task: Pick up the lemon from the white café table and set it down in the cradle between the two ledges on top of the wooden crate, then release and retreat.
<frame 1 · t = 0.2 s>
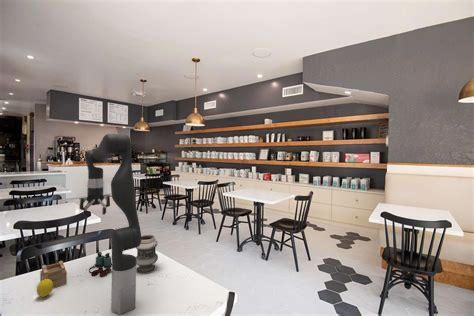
hand: (95, 215, 128), 29 cm above the table, fingers open, 8 cm apart
binoculars: (100, 274, 121), on the table
lemon: (44, 297, 102), on the table
wooden crate: (53, 283, 111), on the table
apothecary jar: (146, 269, 128), on the table
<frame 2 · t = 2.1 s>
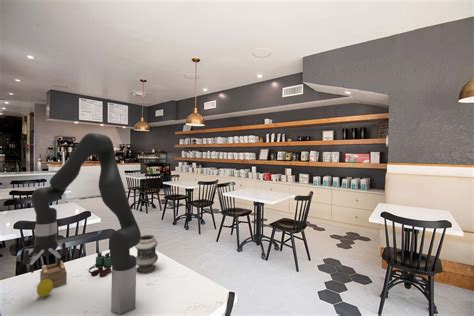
hand: (45, 269, 101), 12 cm above the table, fingers open, 8 cm apart
nothing on the table moved.
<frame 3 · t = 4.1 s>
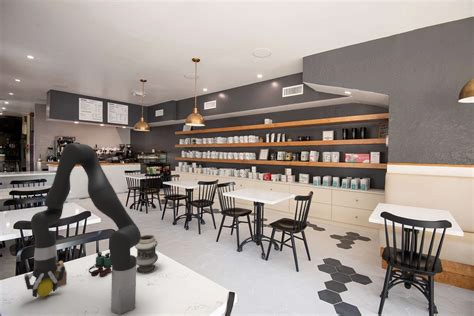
hand: (45, 293, 102), 2 cm above the table, fingers closed on lemon, 5 cm apart
lemon: (44, 297, 102), on the table, touching gripper
everything else where it was.
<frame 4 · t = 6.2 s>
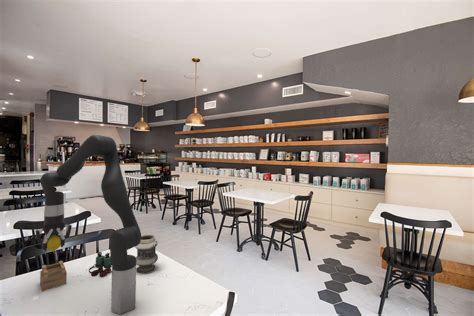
hand: (53, 248, 111), 17 cm above the table, fingers closed on lemon, 5 cm apart
lemon: (53, 251, 111), point 16 cm above the table, touching gripper
everything else where it was.
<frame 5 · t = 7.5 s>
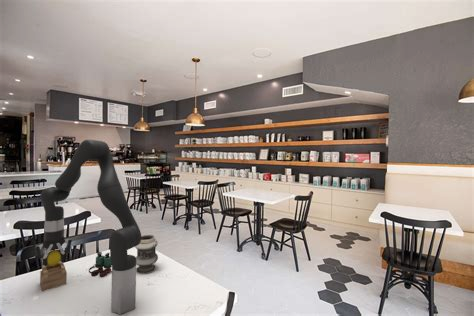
hand: (53, 263, 111), 10 cm above the table, fingers closed on lemon, 5 cm apart
lemon: (53, 266, 111), point 8 cm above the table, touching gripper
everything else where it was.
when the fingers open (10 cm above the table, at t = 8.3 s): lemon drops 2 cm, resting on wooden crate.
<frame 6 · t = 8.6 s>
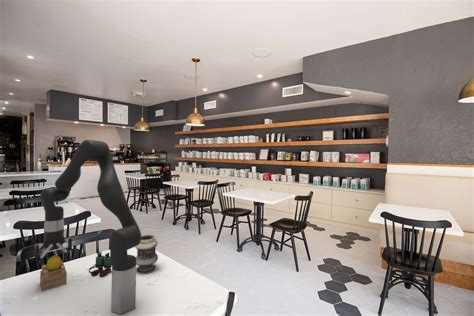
hand: (53, 262, 111), 10 cm above the table, fingers open, 7 cm apart
lemon: (53, 271, 111), point 6 cm above the table, touching wooden crate
everything else where it was.
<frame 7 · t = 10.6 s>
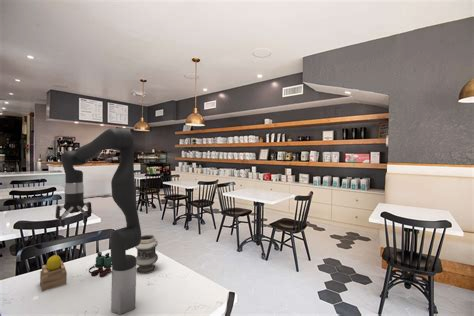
hand: (74, 225, 112), 28 cm above the table, fingers open, 8 cm apart
nothing on the table moved.
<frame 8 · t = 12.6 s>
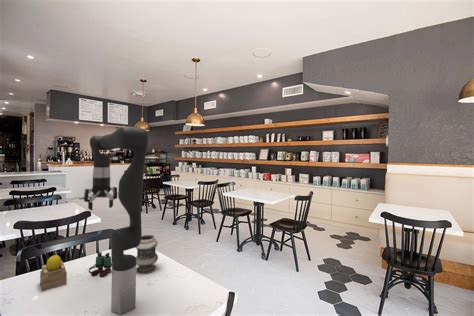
hand: (101, 208, 115), 36 cm above the table, fingers open, 8 cm apart
nothing on the table moved.
at the end: lemon inside the target area on the wooden crate (0.3 cm from its centre), point 5.9 cm above the wooden crate's base; the gripper is holding nothing; lemon touching wooden crate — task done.
